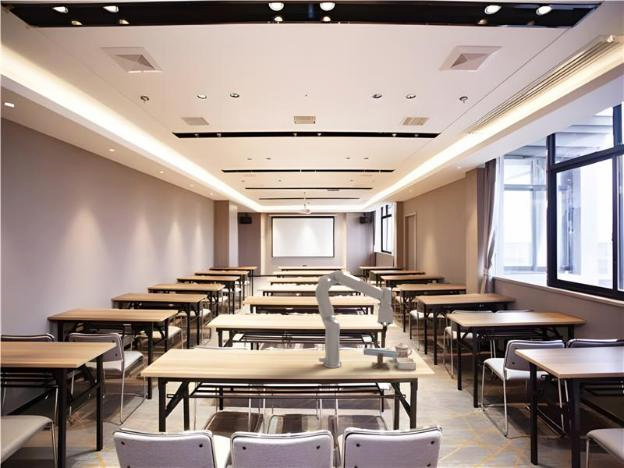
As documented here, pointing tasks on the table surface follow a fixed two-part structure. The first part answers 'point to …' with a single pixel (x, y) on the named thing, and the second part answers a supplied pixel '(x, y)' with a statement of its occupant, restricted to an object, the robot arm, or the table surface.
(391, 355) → the lever
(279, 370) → the table surface
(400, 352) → the teacup with lid
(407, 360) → the white rectangular tray
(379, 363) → the stand
